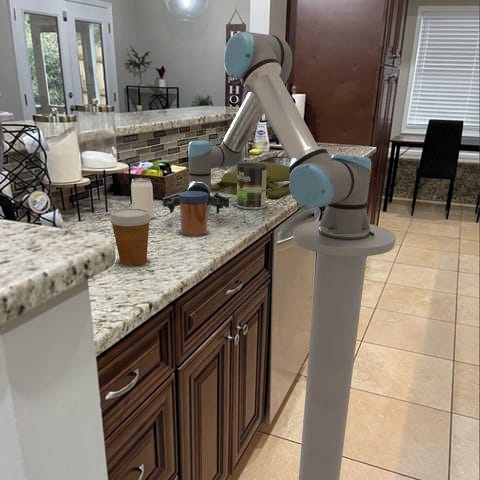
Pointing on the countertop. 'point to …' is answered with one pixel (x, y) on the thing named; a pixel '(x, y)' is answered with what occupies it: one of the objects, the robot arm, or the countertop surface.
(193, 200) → the lid
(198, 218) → the jar
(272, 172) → the spaceship
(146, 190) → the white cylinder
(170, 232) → the countertop surface
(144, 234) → the disposable coffee cup
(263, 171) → the coffee can
